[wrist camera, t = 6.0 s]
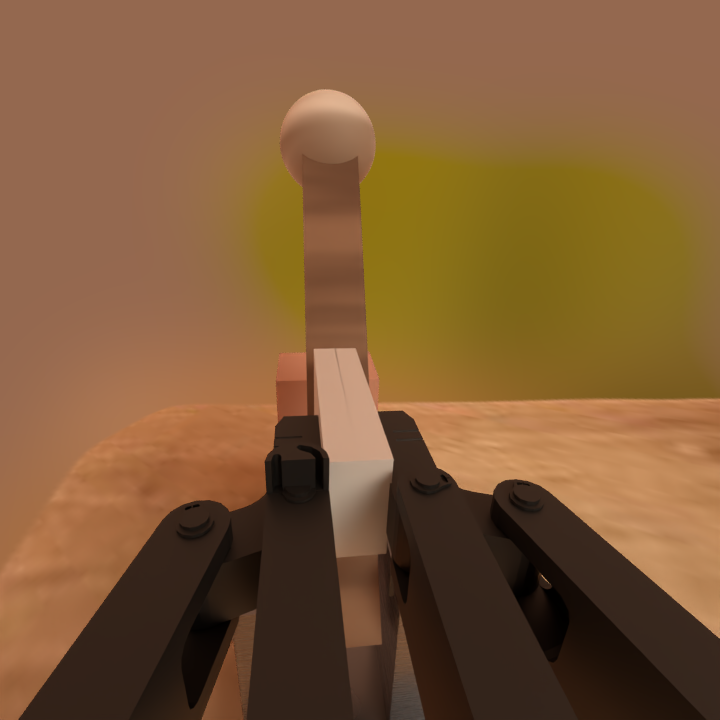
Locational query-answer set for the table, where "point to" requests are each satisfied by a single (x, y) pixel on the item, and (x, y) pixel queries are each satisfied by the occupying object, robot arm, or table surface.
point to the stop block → (305, 384)
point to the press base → (359, 663)
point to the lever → (335, 280)
